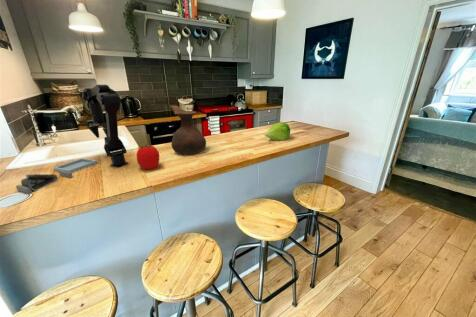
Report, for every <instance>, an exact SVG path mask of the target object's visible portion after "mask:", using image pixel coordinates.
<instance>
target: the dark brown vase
mask: <svg viewBox="0 0 476 317" xmlns="http://www.w3.org/2000/svg"><path fill="white" fill-rule="evenodd" d="M169 108H170V109H172V112H173V113H174V115H175V116H178V118H180V126H179V128H178V129H177V130H176V131H175V132H172V136H173V137H172V140H171V143H170V144H171V148H172V150H173V151H174V152H175V154H178V155H180V156H181V155H182V156H192V155H196V154H199V153H201V152H203V151H204V149H205V148H206V146H207V140H206V138H205V136H204V134H203V133H202V132H201V131H200V130H199V129H198V128H197V127H195V125H194V123H193V116H195V115H196V114H197V111H193V110H183V109H182V108H181V107H179V106H177V105H170V106H169Z"/></svg>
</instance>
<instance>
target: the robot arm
mask: <svg viewBox="0 0 476 317" xmlns="http://www.w3.org/2000/svg"><path fill="white" fill-rule="evenodd" d="M81 93H82V100H83V101H84V107H85V109H87V110H89V111H90V113H89V116H91V117H92V119H91V120H85V121H84V122H83V124H84V127H86V128H87V129H88V130H89V131H90V132H91V133H92V134H93V135H94V136H95V137H96V139H99V138H100V133H99V127H102V131H103V133H104V134H105V137H104V138H103V139H104V144H103V149H104V151H105V153H106V157H109V158H110V159H111V164H110V165H109V166H111V167H116V168H120V167H123V166H125V165H128V164H129V161H126V158H125V154H127V149H126V146H125V144H124V142H123V141H122V140H121V139H120V137H119V129H118V127H119V126H118V125H119V123H118V112H119V111H120V110H121V104H122V100H121V97H120V96H119V93H118V92H117V91H115V90H114V89H112V88H110V86H109V85H108V84H96V85H95V86H93V87H84V89H83V90H82V92H81ZM104 111H105V112H104Z"/></svg>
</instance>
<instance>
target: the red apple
mask: <svg viewBox="0 0 476 317" xmlns="http://www.w3.org/2000/svg"><path fill="white" fill-rule="evenodd" d="M136 161H137V164H138V165H139V166H140V167H141V169H144V170H153V169H156V168H158V166H159V163H160V153H159V151H158V149H157V148H156V146H154V145H149V144H148V143H147V144H145V145H143V146H142V145H141V146H140V147H138V149H137V152H136Z"/></svg>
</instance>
